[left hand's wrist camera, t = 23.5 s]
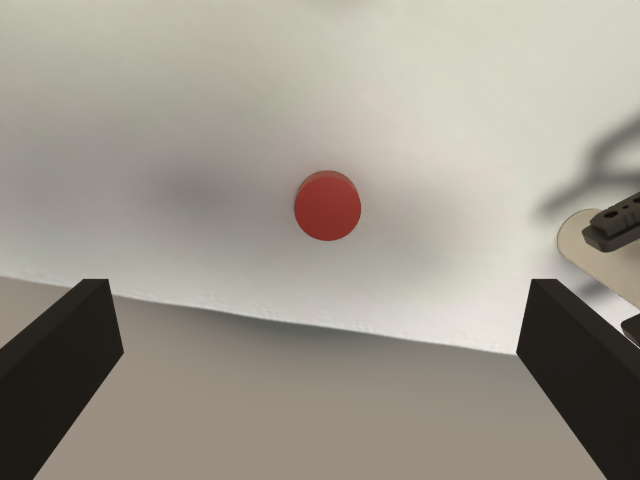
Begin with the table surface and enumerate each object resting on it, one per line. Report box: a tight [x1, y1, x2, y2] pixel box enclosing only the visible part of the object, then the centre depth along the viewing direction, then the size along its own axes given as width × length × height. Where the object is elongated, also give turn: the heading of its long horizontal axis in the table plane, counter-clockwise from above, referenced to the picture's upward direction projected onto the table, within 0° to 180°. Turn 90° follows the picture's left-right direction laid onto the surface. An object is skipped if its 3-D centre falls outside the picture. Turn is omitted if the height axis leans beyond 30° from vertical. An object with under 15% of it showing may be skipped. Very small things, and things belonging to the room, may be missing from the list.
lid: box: [295, 171, 361, 241], centre depth 28 cm, size 4×4×2 cm
